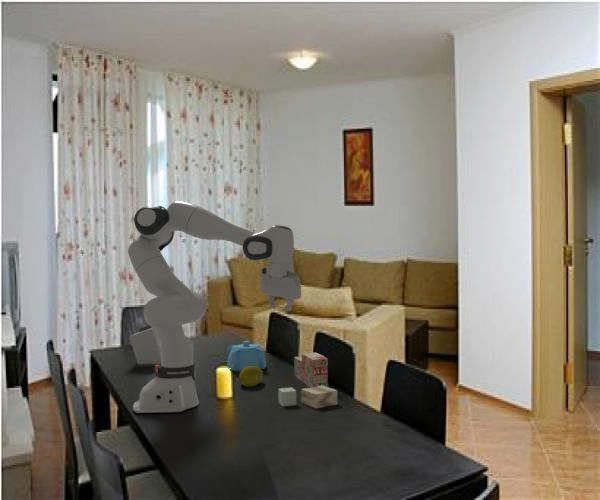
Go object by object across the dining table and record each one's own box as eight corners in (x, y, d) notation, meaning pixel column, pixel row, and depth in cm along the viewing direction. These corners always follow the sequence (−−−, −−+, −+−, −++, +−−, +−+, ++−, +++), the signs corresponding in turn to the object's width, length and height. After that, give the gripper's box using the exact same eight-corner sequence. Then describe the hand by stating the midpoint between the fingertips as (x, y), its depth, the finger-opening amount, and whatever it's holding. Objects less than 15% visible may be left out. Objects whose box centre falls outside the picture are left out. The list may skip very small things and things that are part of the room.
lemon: (244, 390, 232) (243, 369, 232) (234, 386, 239) (234, 366, 239) (268, 386, 238) (268, 366, 238) (258, 382, 245) (258, 362, 245)
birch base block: (315, 409, 207) (315, 394, 207) (301, 403, 215) (301, 389, 214) (337, 404, 212) (337, 390, 212) (322, 399, 219) (322, 385, 219)
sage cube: (282, 406, 210) (282, 392, 210) (278, 402, 215) (278, 388, 215) (296, 405, 212) (296, 390, 212) (292, 401, 217) (292, 387, 216)
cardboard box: (294, 379, 250) (293, 349, 249) (308, 378, 252) (308, 348, 251) (312, 391, 229) (312, 359, 229) (328, 390, 232) (327, 357, 231)
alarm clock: (165, 372, 266) (164, 326, 266) (130, 373, 267) (128, 326, 267) (177, 363, 287) (176, 319, 286) (144, 363, 288) (143, 320, 287)
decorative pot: (265, 368, 272) (264, 337, 272) (266, 376, 256) (266, 343, 256) (228, 369, 271) (227, 338, 270) (227, 377, 255) (226, 345, 254)
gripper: (305, 272, 212) (305, 312, 213) (272, 268, 229) (271, 305, 229) (291, 273, 209) (290, 313, 209) (258, 268, 225) (257, 306, 225)
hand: (280, 309), depth 219 cm, fingers open, 8 cm apart
